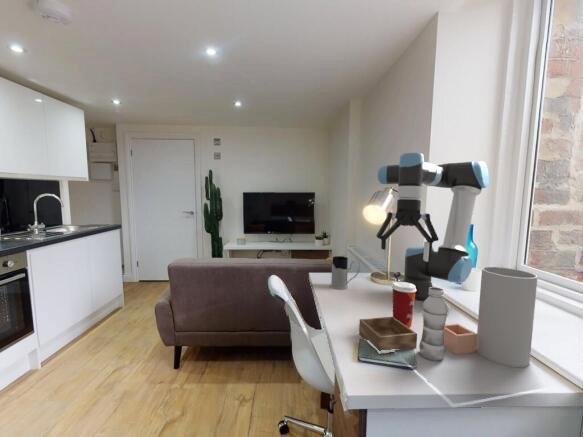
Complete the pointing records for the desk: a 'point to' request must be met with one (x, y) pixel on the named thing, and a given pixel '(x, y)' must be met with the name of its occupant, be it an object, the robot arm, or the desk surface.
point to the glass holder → (340, 273)
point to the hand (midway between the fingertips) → (405, 259)
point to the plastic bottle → (433, 325)
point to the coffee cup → (403, 302)
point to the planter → (459, 339)
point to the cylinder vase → (506, 315)
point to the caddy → (387, 333)
